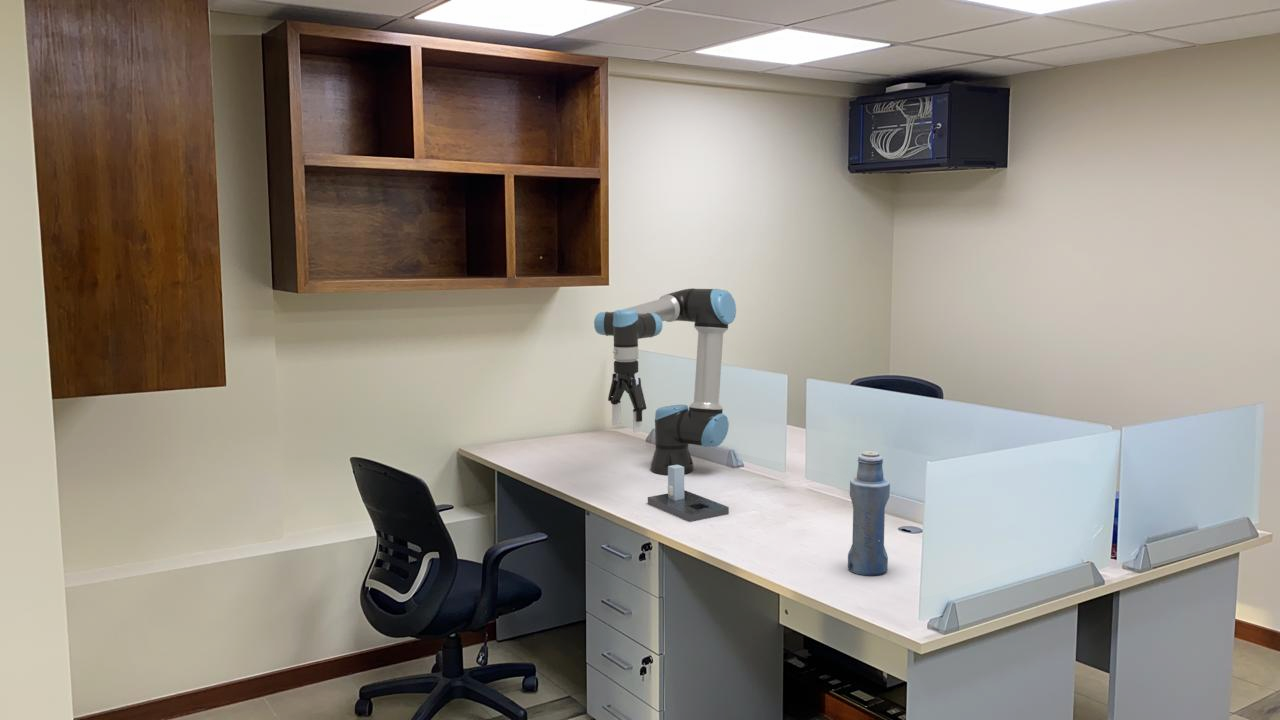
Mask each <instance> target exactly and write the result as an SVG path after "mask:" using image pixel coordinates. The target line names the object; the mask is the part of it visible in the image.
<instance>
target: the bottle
mask: <svg viewBox="0 0 1280 720" xmlns="http://www.w3.org/2000/svg"><path fill="white" fill-rule="evenodd" d="M883 459H884V458H883V456H882V455H880V453H879V452H878V451H872V450H869V451H868V450H867V451H866V450H865V451H862V452H861V454H858V458H857V462H858V464H857V470H856V471H857V472H856V476H855V477H852V478H851V479H850V481H849V497H850V500H851V503H852V540H851V541H852V544H851V546H850V549H849V550H848V553H847V567H848V569H849V571H850V572H852V573H854V574H857V575H862V576H880V575H883V574H886V572H887V571H888V563H889V562H888V561H889V557H888V553H887V550H886V547H885V521H886V520H885V519H886V517H885V512H886V511H885V510H886V509H885V508H886V506H887V503H888V501H889V499H890V493H891V491H890V490H891V483H890V481H889V480H888V479H886V478H884V469H883V463H884V460H883Z"/></svg>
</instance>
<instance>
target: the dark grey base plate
mask: <svg viewBox="0 0 1280 720" xmlns="http://www.w3.org/2000/svg"><path fill="white" fill-rule="evenodd" d="M647 505H649V506H652V507H653V508H656V509H658V510H661V511H663V512H665V513H668V514H670V515H673V516H675V517H677V518H679V519H681V520H684V521H687V522H689V523H692V522H698V521H702V520H708V519H712V518H718V517H722V516H727V515H730V514H729V513H730V506H727V505H725V504H722V503H720V502H717V501H714V500H711V499H708V498H706V497H704V496H702V495H698V494H695V493H693V492H690V491H688V490H685V489H684V499H680V500H675V501H674V500H671V499H669V498H668V493H663V494H658V495H652V496H647Z"/></svg>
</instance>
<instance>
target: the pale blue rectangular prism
mask: <svg viewBox="0 0 1280 720" xmlns="http://www.w3.org/2000/svg"><path fill="white" fill-rule="evenodd" d="M684 490H685V474H684V467H683V466H680V465H672V466H668V475H667V494H668V498H669V499H671V500H674V501H675V500H680V499H684Z"/></svg>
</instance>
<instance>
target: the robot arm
mask: <svg viewBox="0 0 1280 720" xmlns="http://www.w3.org/2000/svg"><path fill="white" fill-rule="evenodd" d="M736 306H737V305H736V300H735V299H734V296H733V294H731V293H730V292H729V291H728V290H726V289H721V288H719V289H718V288H683V289H681V290H676V291H672V292H671V293H666V294H663V295H661V296H660V297H659V298H658V299H655V300H652V301H648V302H645V303H641V304H638V305H634V306H629V307H627V308H623V309H617V310H614V311H600V312H598V313H597V314H596V315H595V317H594V321H593V326H594V330H595V332H596V333H597V334H599V335H602V336H606V337H608V336H612V337H613V351H612V353H613V360H614V362H613V373H612V375H611V376H612V380H611V384H610V388H609V389H610V390H609V392H608V396H607V401H609V402H610V404H611V414H612V415H611V416H612V419H611V420H612V421H611V422H612V426H617V425H618V426H619V425H622V404H621V403H622V401H621V399H622V397H623V396H624V392H626V394H628V396H629V399H630V401H631V404H632V407H633V410H632V423H633V424H632V425H633V426H632V431H633V433H640V432H641V433H642V432H643V411H645V410H647V404H646V400H645V396H644V392H643V388H642V380H641V377H636V376H635V375H636V374H637V373H638V372H639V361H638V359H639V340H640V339H647V338H654V337H656V336H658V335H660V334H661V332H662V330H663V322H664V321H665V322H667V323H668V322H669V323H673V322H676V321H679V322H691V323H694V324H693V325H694V326H693V327H694V329H695V330H696V331H697V332H698V333H697V334H698V335H697V347H696V348H697V349H696V350H697V351H696V364H695V381H694V396H693V402H691V404H689V405H687V404H673V405H666V406H665V405H664V406H661V407H659V408H657V409H656V410H655V414H654V415H655V417H654V426H655V427H654V428H655V429H654V432H655V436H654V437H655V438H654V439H655V450H654V453H653V456H652V460H651V462H650V463H651V464H650V471H651V472H652V473H654V474H657V475H658V474H659V475H664V476H668V466H672V465H680V466H683V467H684V475H686V474H689V473H692V472H693V471H694V461H693V459H692V456H691V453H690V450H689V445H695V446H702V447H705V448H706V447H710V448H716V447H718V446H720V445H721V444H722V443H723V442H724V440H726V437H727V435H728V432H729V425H730V423H729V422H730V421H729V420H728V417H727V415H726V414H724V413H723V409H724V408H723V407H722V405H721V404H720V387H721V374H722V356H723V344H724V343H723V342H724V334H725V333H726V332H727V331H728V329H729V325H730V324H732V323H733V322H734V321H735V318H736V316H737V315H736V314H737V307H736Z"/></svg>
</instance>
